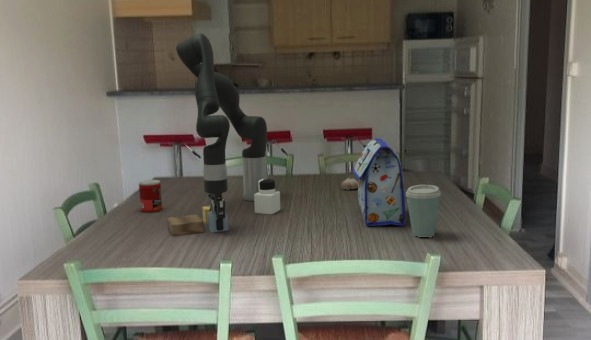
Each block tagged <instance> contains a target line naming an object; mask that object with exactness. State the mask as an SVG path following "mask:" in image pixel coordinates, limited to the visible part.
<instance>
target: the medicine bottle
mask: <svg viewBox="0 0 591 340" xmlns="http://www.w3.org/2000/svg"><path fill="white" fill-rule="evenodd" d="M258 185H259V191H260V192H258V193H256V194H254V201H253V202H254V203H253V204H254V213H255V214H263V215H272V216H273V215H274V214H276V213H278V212H279V211H281V192H280V191H278V190H276V181H275V180H274V178H273V179H272V178H268V179H262V180H260V181H259V182H258Z"/></svg>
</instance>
